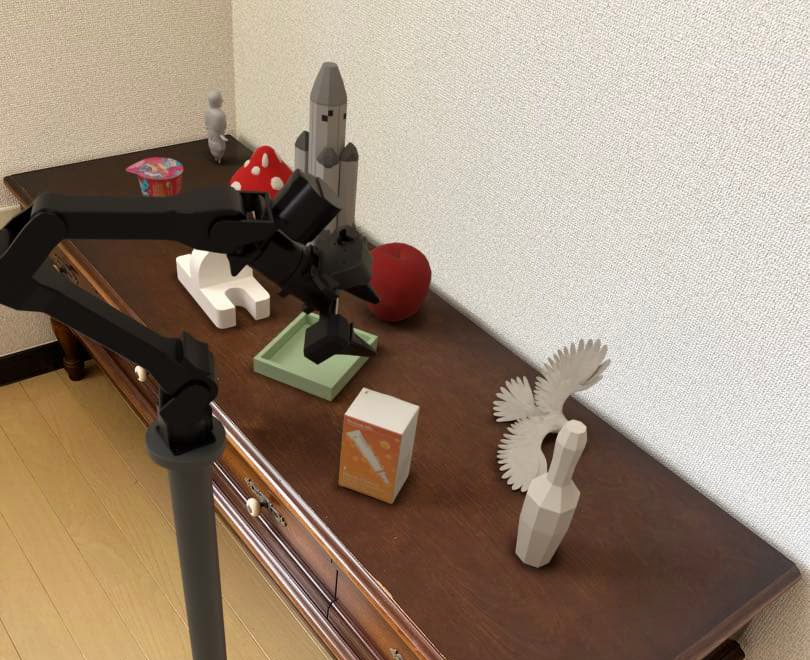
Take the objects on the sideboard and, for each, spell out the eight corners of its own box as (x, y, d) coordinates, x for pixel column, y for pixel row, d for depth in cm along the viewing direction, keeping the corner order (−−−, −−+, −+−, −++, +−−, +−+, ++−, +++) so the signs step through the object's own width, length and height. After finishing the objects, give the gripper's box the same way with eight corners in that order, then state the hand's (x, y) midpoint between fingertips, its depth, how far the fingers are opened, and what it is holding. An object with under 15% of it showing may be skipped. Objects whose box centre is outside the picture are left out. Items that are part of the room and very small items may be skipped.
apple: (407, 343, 136) (416, 273, 127) (345, 321, 139) (350, 251, 130) (436, 309, 145) (446, 241, 135) (377, 289, 147) (383, 221, 138)
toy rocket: (359, 271, 151) (374, 73, 127) (320, 283, 147) (328, 81, 123) (323, 242, 157) (331, 48, 133) (285, 254, 153) (286, 55, 129)
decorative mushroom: (245, 244, 154) (243, 167, 143) (218, 210, 162) (214, 135, 152) (313, 231, 160) (316, 156, 149) (284, 199, 168) (284, 126, 157)
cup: (171, 213, 159) (165, 152, 151) (197, 231, 155) (192, 170, 147) (128, 226, 154) (120, 165, 146) (154, 245, 150) (147, 183, 142)
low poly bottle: (500, 553, 106) (537, 426, 90) (526, 526, 109) (566, 400, 94) (541, 580, 103) (586, 454, 88) (566, 552, 107) (614, 427, 92)
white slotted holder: (219, 330, 134) (215, 272, 126) (175, 275, 144) (170, 219, 136) (272, 315, 138) (272, 259, 131) (226, 264, 148) (223, 208, 141)
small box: (337, 486, 111) (342, 413, 102) (356, 457, 116) (362, 385, 107) (392, 506, 110) (402, 434, 101) (409, 476, 114) (420, 404, 105)
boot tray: (331, 401, 124) (331, 388, 122) (253, 371, 127) (253, 358, 125) (376, 349, 134) (378, 336, 133) (304, 322, 138) (304, 309, 136)
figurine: (238, 168, 176) (236, 96, 165) (222, 172, 174) (219, 100, 163) (214, 151, 180) (210, 80, 170) (198, 155, 178) (193, 84, 168)
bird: (472, 481, 127) (525, 510, 114) (433, 395, 120) (484, 415, 107) (575, 413, 132) (637, 433, 119) (542, 326, 125) (604, 337, 112)
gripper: (326, 291, 91) (420, 358, 101) (338, 177, 101) (422, 248, 110) (262, 334, 97) (356, 393, 107) (279, 223, 107) (364, 286, 117)
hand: (376, 327), depth 110 cm, fingers open, 9 cm apart
